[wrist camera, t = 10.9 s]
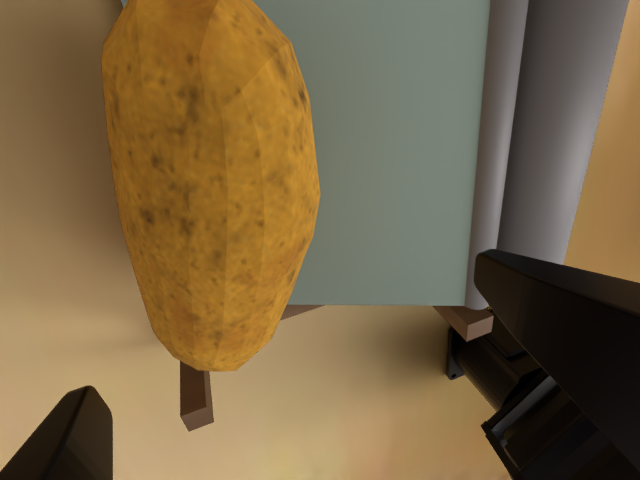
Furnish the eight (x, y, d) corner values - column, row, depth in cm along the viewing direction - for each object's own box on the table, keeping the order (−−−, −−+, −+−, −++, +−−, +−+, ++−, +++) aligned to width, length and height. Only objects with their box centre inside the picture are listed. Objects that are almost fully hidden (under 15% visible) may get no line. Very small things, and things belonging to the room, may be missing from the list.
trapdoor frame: (461, 247, 27) (547, 309, 21) (186, 338, 23) (189, 451, 17) (488, -120, 17) (673, -216, 11) (-4, -77, 13) (-185, -193, 6)
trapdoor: (543, 262, 21) (571, 310, 18) (247, 267, 25) (225, 307, 22) (622, -105, 13) (700, -143, 10) (164, -14, 17) (109, -19, 14)
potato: (364, 10, 13) (339, 12, 7) (305, 303, 21) (270, 419, 15) (171, -30, 13) (-6, -59, 7) (185, 273, 21) (104, 375, 15)
